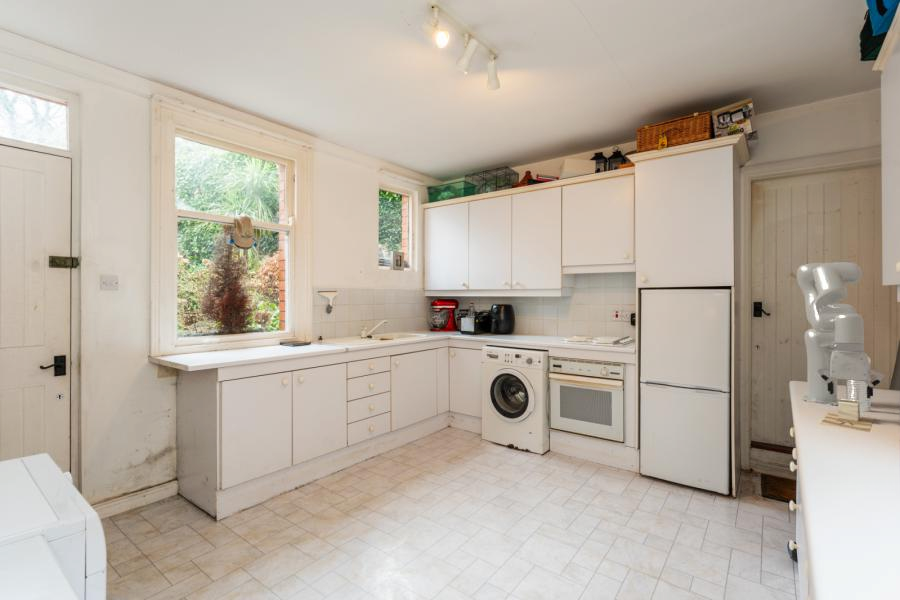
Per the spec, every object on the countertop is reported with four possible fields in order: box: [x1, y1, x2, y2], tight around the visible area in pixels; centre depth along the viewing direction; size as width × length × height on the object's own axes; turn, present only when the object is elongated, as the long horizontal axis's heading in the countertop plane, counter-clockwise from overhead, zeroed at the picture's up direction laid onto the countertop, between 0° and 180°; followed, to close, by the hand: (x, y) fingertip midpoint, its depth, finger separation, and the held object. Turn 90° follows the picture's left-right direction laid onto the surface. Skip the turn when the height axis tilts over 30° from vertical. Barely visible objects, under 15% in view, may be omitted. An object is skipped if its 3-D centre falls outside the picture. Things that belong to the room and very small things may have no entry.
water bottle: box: [845, 356, 872, 412], centre depth 163 cm, size 7×7×25 cm
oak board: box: [820, 411, 875, 433], centre depth 147 cm, size 22×12×1 cm, turn 132°
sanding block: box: [837, 398, 861, 422], centre depth 151 cm, size 8×5×6 cm, turn 132°
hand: (849, 395), depth 150 cm, fingers open, 9 cm apart
